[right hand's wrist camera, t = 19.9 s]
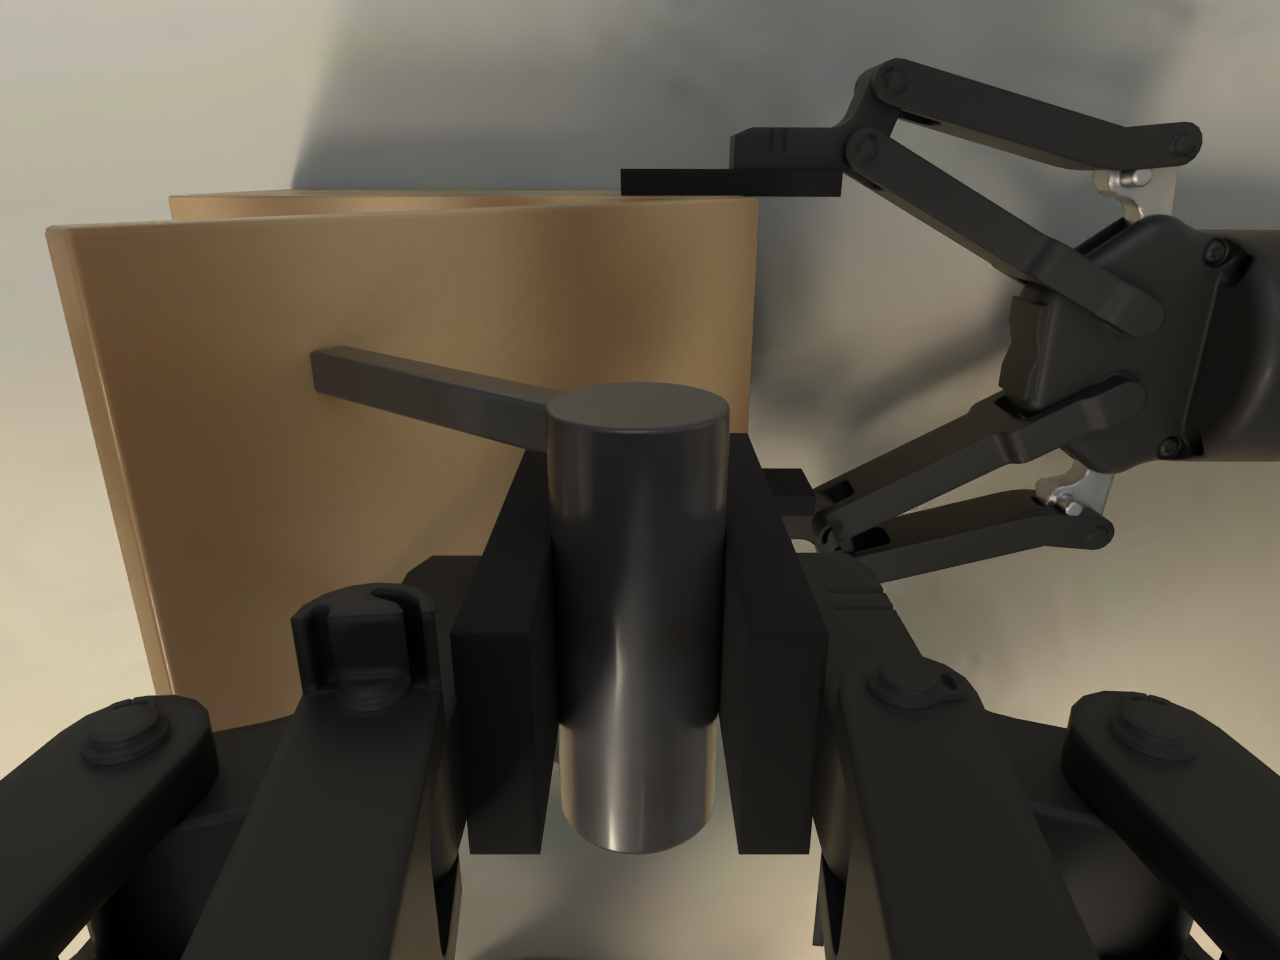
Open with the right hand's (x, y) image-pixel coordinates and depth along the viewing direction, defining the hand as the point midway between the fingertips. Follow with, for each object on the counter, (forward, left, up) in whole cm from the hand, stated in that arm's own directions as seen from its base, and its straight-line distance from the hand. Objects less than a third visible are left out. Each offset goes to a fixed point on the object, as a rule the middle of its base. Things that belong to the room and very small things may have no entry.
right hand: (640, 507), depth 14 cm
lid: (-1, +2, -5) cm, 5 cm away
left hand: (0, +1, -14) cm, 14 cm away
